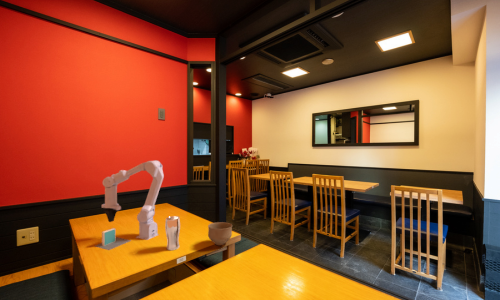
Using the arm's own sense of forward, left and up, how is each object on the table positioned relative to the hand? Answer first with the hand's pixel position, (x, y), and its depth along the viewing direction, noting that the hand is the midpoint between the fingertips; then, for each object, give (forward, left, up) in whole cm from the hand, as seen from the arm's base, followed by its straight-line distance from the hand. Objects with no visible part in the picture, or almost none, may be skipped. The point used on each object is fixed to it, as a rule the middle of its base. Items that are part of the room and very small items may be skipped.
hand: (111, 221), depth 120 cm
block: (-7, +6, -9) cm, 13 cm away
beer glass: (-42, -4, -10) cm, 44 cm away
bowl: (-62, -17, -10) cm, 65 cm away
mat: (-9, +5, -9) cm, 14 cm away
